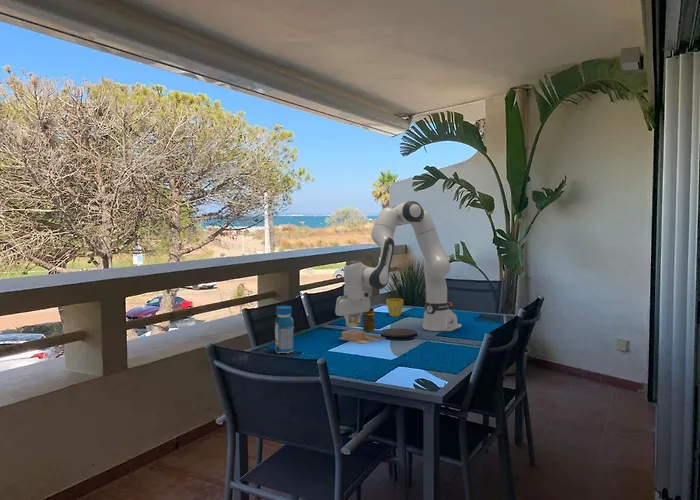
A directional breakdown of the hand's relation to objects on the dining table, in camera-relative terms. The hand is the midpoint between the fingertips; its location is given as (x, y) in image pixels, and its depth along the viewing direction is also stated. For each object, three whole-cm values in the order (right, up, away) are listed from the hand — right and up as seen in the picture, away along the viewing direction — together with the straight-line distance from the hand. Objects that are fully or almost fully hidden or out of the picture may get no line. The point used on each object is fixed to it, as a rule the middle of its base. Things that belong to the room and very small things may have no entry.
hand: (353, 322), depth 238 cm
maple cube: (0, -2, 0) cm, 2 cm away
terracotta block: (0, -8, 0) cm, 8 cm away
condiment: (+7, -7, +19) cm, 22 cm away
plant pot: (+26, -5, +60) cm, 65 cm away
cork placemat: (+5, -8, +2) cm, 9 cm away
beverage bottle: (-30, -10, -21) cm, 38 cm away
